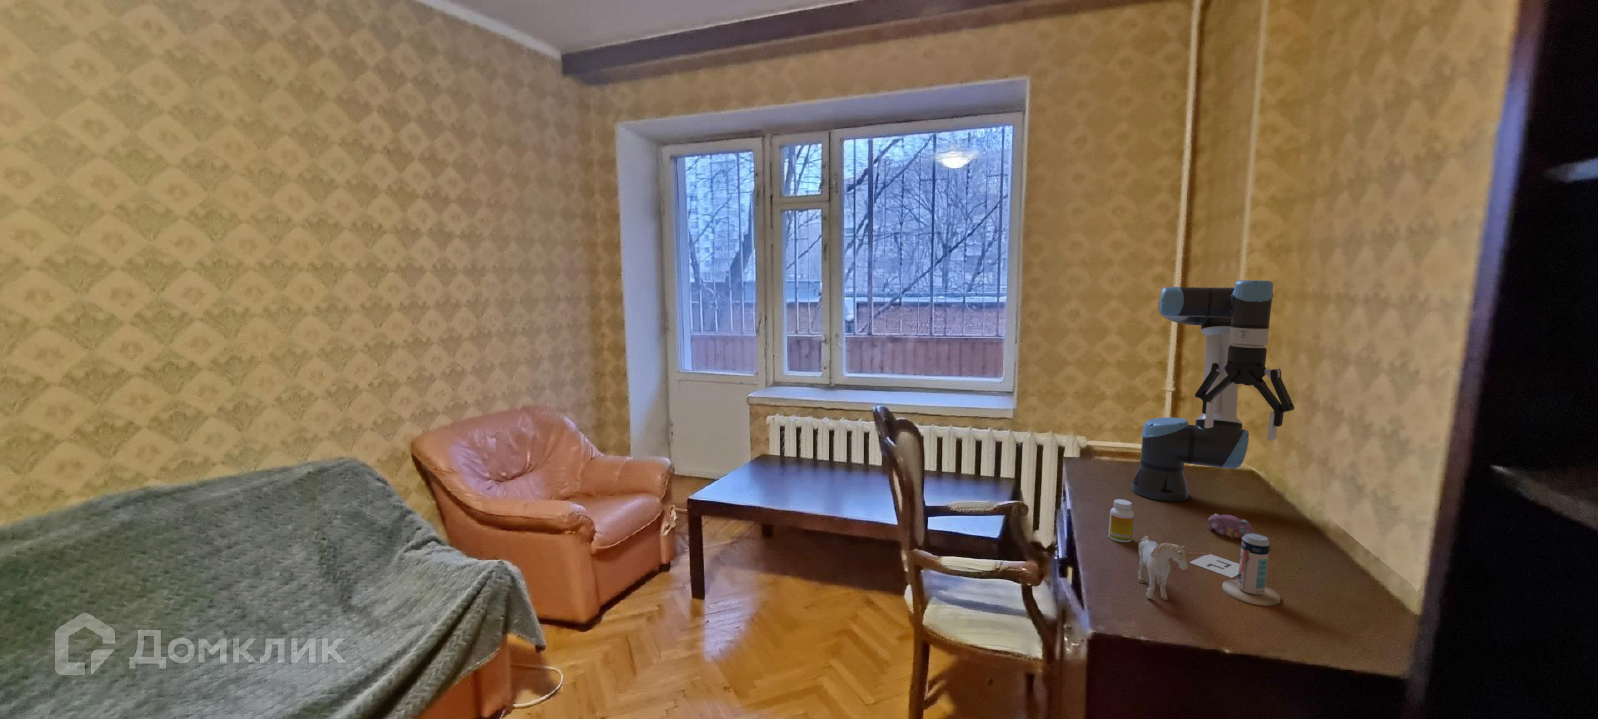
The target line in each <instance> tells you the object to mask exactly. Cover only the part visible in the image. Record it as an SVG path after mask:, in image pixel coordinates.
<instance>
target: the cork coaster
mask: <svg viewBox="0 0 1598 719" xmlns="http://www.w3.org/2000/svg"><path fill="white" fill-rule="evenodd" d="M1222 582H1223V583H1222V586H1221V588H1222V591H1223V592H1224V593H1225V594H1227V595H1228V596H1230V597H1231V598H1234V599H1235V600H1238V601H1241V602H1244V603H1247V604H1251V605H1255V606H1261V607H1273V606H1277V605H1279V604H1280V603H1281V596H1280V595H1279V594H1278V593H1277V591H1275V590H1273V589H1271V588H1270V587H1267V586H1265V593H1264V594H1260V595H1251V594H1248V593H1245V592H1243V591H1242V590H1241V589H1239V588H1238V586H1237V583H1238V579H1228V580H1225V581H1222Z"/></svg>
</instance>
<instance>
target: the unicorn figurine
mask: <svg viewBox="0 0 1598 719" xmlns="http://www.w3.org/2000/svg"><path fill="white" fill-rule="evenodd" d="M1185 548H1186V546H1185V545H1182V546H1180V545H1179V544H1176V543H1171V542H1164V543H1160V544H1159V543H1157V542H1156V541H1153V540H1151V539H1150V536H1149V535H1145V536H1143V537H1142V538H1141V539H1140V542H1139V543H1138V555H1139V563H1138V565H1139V570H1138V571H1137V575H1138V577H1137V582H1138V583H1141V584H1145V582H1146V581H1145V580H1146V579H1145V577H1144V567H1147V572H1148V573H1147V574H1148V579H1149V586H1148V588H1146V592H1145V598H1146V599H1148V600H1149V599H1152V597H1153V596H1154V590H1155V587H1156V586H1157V587H1159V592H1160V598H1161V599H1162V600H1164V601H1167V600H1168V598H1169V597H1168V595H1167V590H1166V584H1167V578H1168V577H1169V574H1170V572H1171V563H1170V561H1169V560H1170V559H1171V558H1172V560H1173V561H1174V562H1176V563H1177V564H1178V567H1179V569H1180V570H1183V571H1186V570H1188V561H1187V558H1189V557H1202V556H1204V555H1210V554H1211V553H1210V552H1187V551H1186V550H1185ZM1155 580H1156V581H1155ZM1155 583H1156V584H1155Z"/></svg>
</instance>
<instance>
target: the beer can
mask: <svg viewBox="0 0 1598 719" xmlns="http://www.w3.org/2000/svg"><path fill="white" fill-rule="evenodd" d="M1270 548H1271V543H1270V540H1269V538H1268V537H1267V536H1266V535H1262V534H1260V533H1255V532H1253V533H1246V534H1245V535H1244V536H1242V537H1241V547H1240V555H1239V563H1238V564H1239V573H1238V575H1237V580H1238V583H1237V586H1238V588H1239V589H1241V590H1242V591H1243V592H1245V593H1248V594H1251V595H1260V594H1264V593H1265V587H1266V585H1267V583H1266V582H1267V575H1268V566H1269V557H1270V556H1269V555H1270Z"/></svg>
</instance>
